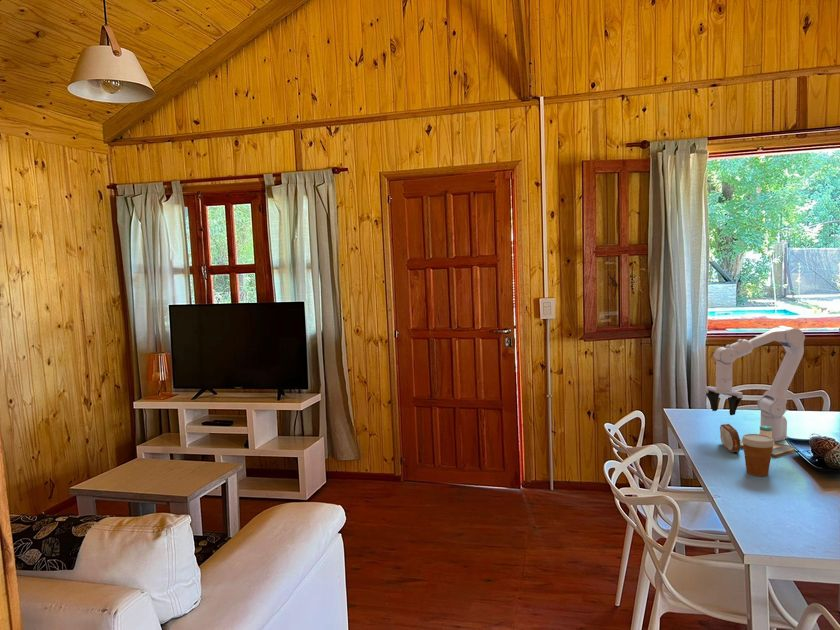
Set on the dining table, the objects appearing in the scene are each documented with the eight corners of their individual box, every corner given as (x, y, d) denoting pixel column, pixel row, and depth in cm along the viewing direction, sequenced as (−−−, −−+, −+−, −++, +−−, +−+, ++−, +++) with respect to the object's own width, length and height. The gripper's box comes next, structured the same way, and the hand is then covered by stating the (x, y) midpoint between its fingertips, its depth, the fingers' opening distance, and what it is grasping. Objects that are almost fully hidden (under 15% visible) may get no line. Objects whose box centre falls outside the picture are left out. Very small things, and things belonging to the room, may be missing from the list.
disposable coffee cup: (734, 470, 202) (735, 435, 201) (754, 466, 206) (755, 431, 205) (760, 480, 194) (761, 443, 193) (780, 475, 197) (781, 439, 196)
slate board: (756, 440, 234) (757, 437, 234) (798, 451, 220) (798, 447, 220) (733, 446, 228) (733, 443, 228) (775, 457, 214) (775, 454, 214)
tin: (741, 455, 218) (741, 432, 217) (731, 455, 218) (732, 432, 218) (727, 442, 233) (727, 421, 232) (718, 442, 233) (718, 421, 232)
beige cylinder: (763, 443, 227) (764, 424, 226) (774, 445, 223) (774, 427, 222) (756, 444, 225) (757, 426, 224) (767, 447, 221) (767, 429, 221)
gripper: (700, 376, 240) (700, 410, 241) (734, 382, 227) (733, 418, 228) (712, 374, 243) (712, 407, 244) (746, 380, 230) (745, 415, 231)
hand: (723, 412), depth 236 cm, fingers open, 7 cm apart
